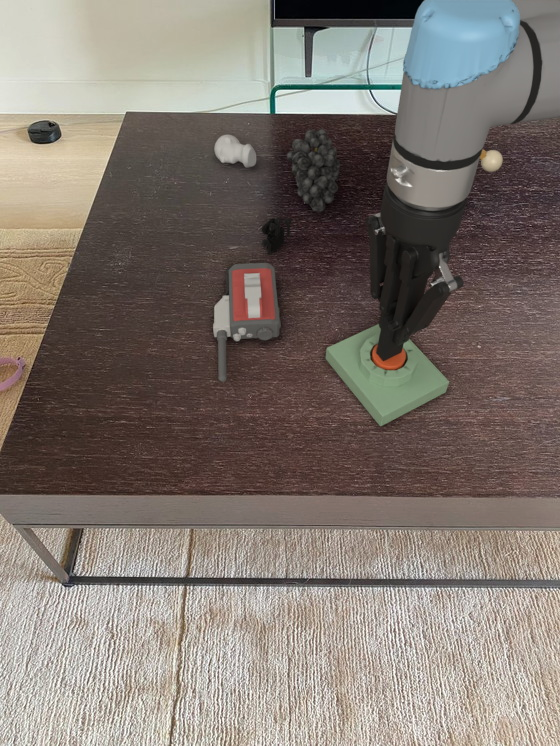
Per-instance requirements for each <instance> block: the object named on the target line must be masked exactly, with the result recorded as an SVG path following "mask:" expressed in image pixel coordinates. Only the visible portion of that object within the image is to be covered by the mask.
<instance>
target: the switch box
mask: <svg viewBox="0 0 560 746" xmlns="http://www.w3.org/2000/svg"><path fill="white" fill-rule="evenodd" d="M380 331H381V329H380V328H379V323H377V324H376V325H374V326H371V327H369V328H367V329H364V330H361V331H360V332H358V333H355V334H354V335H352V336H349V337H347V338H345V339H343V340H340V341H338V342H337V343H334V344H332V345H330V346H328V347H326V350H325V360H326V361H327V363H328V364H329V365H330V366H331V367H332V369H333V370H334V371H335V373H336V374H337V375H338V376H339V377H340V379H341V380H342V381H343V382H344V384H345V385H346V386H347V388H349V390H350V391H351V393H353V395H354V396H355V397H356V399H357V400H358V401H359V402H360V403H361V405H362V406H363V407H364V408H365V410H366V411H367V412H368V413H369V415H370V416H371V417H372V418H373V420H374V421H375V422H376V423H377V424H378V426H379V427H383V426H384V425H386V424H388V423H390V422H392V421H393V420H395V419H398V418H400V417H401V416H403V415H405V414H407V413H409V412H411V411H413V410H415V409H416V408H418V407H420V406H423V405H424V404H426V403H428V402H430V401H432V400H434V399H436V398H437V397H440V396H442V395H444V394H445V393H446V392H447V391H448V390H447V389H448V387H449V384H450V381H449V379H447V377H446V376H445V375H444V374H443V373H442V372H441V371H440V370H439V369H438V367H436V366H435V365H434V364H433V362H432V361H431V360H430V359H429V358H428V357H427V356H426V355H425V353H423V352H422V351H421V349H419V347H418V346H416V344H415V343H414V342H413V341H412V340H411V339H410V338H409V340H408V341H407V342H405V343H404V345H403V349H404V351H405V354H406V358H405V362H404V366H403V367H402V368H400V369H398V370H384V369H382V368H379V367H377V366H376V365H375V364H374V363H373V362H372V361H371V357H372V352H373V349H374V347H375V346H376V345H377V344H378V341H379V336H380Z"/></svg>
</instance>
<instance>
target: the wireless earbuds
mask: <svg viewBox="0 0 560 746" xmlns="http://www.w3.org/2000/svg"><path fill="white" fill-rule="evenodd" d="M282 222H283V223H284V225H285V226H286V238H287V239H289V238H290V237H291V223H292V218H291V217H287V218H285V219H284V221H283V218H282V217H281V216H278V217H275V218H274V217H273V218H270V219H269V220H268V221H267V222H266V223H265V224H264V225H263V226H262V227H261V231H262V234H263V235H265V236H266V237H267V238H263V239H262V242H261V246H262V248H266V247H267V256H268V257H270V256H271V255H272V253H275V252H276V251H278V250H279V249H280V248H281V247H282V246H283V245H284V243H285V227H283V226H281V224H282Z"/></svg>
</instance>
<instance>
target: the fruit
mask: <svg viewBox="0 0 560 746" xmlns="http://www.w3.org/2000/svg"><path fill="white" fill-rule="evenodd" d="M304 134H305V135H304V139H301V138H295V139H294V140H292V143H291V147H292V149H293V150H290V151H288V152H287V153H286V159H287V161H289V162H290V163H292V164H291V165H292V166H291V173H292V174H293V176H295V182H296V186H297V192H296V193H297V195H298V196H299V198H302V201H303V203H304V204H306V205H309V207H310V208H311V209H312V211H313V212H318V213H321V212H323V211H325V209H326V204H327V205H329V204H331V203H334V200H335V194H336V192H337V191H338V190H339V185H338V183H337V182H336V181H337V180H338V179H339V177H340V175H339V174H340V167H341V161H340V160H339V159H338V151H337V149H336V147H333V141H332V139H331V138H330V137H328V133H327V131H326V130H325V129H324V128H319V129H317V130H316V131H315V129H312V128H311V129H307V130H306V132H305V133H304ZM312 149H314V150H312Z"/></svg>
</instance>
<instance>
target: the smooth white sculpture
mask: <svg viewBox="0 0 560 746" xmlns="http://www.w3.org/2000/svg"><path fill="white" fill-rule="evenodd" d="M213 150H214V154H215V157H216V158H217V160H219V161H220V163H222V164H232V165H234V164H236V163H238V162H240V163H242V164H243V166H244V168H246V169H249V168H252V167H254V166H256V164H257V153H256V151H255V149H254V147H253V146H252V145H251V143H246V144H242V143H241V142H240V141H239V139H238V138H237V137H236V136H234V135H232V134H223V135H221V136H220V137H218V138H217V140H216V141H215V143H214V149H213Z"/></svg>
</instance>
